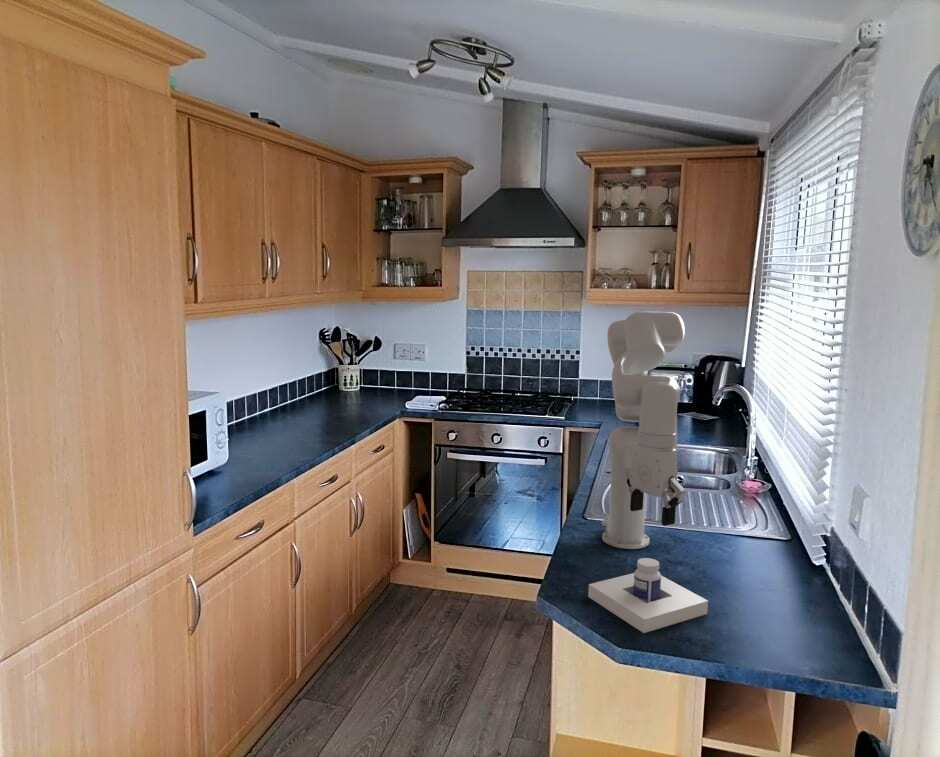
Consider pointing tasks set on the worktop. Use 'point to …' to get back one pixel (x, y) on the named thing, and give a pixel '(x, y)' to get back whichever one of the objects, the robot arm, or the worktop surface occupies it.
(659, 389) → the robot arm
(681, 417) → the worktop surface
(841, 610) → the worktop surface
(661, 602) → the socket block
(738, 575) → the worktop surface
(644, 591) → the pill bottle
